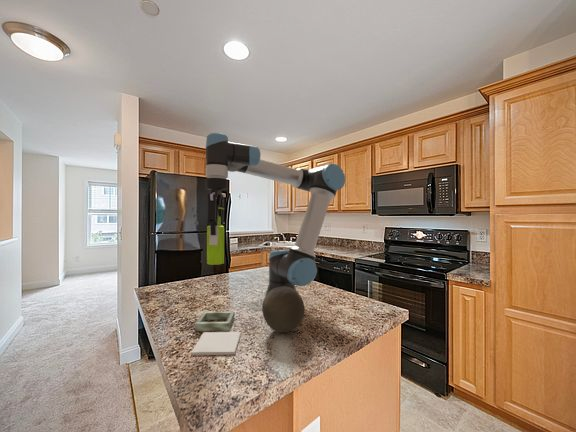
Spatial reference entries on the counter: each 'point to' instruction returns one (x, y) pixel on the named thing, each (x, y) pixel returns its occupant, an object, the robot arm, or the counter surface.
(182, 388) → the counter surface
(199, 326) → the frame
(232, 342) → the mat
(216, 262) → the soap dispenser
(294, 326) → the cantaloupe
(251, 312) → the counter surface
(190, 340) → the counter surface
